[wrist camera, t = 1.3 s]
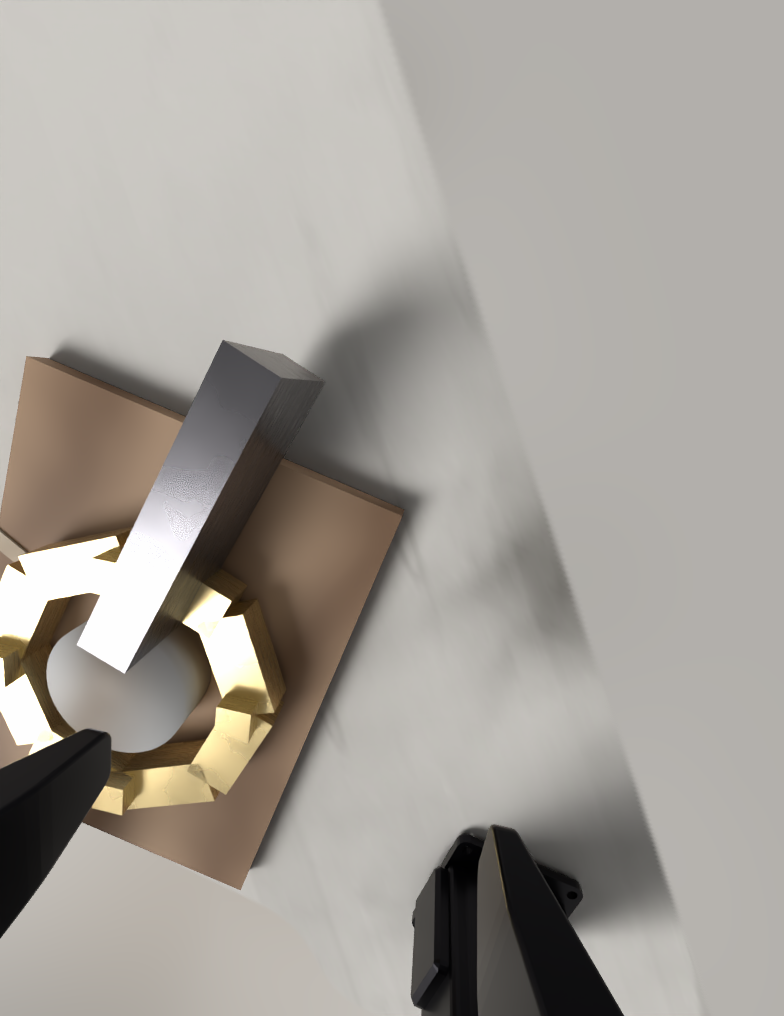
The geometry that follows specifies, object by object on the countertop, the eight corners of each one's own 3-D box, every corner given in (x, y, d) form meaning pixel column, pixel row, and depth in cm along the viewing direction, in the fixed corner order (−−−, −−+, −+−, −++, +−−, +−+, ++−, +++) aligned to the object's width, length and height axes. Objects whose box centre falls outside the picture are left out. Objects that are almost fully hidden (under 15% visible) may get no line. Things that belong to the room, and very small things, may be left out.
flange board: (404, 509, 19) (396, 532, 16) (248, 870, 25) (220, 939, 22) (19, 346, 19) (-64, 337, 16) (-45, 745, 25) (-114, 795, 22)
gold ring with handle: (204, 821, 22) (143, 930, 18) (-18, 688, 22) (-139, 766, 17) (447, 461, 17) (448, 486, 12) (156, 272, 16) (46, 225, 12)
